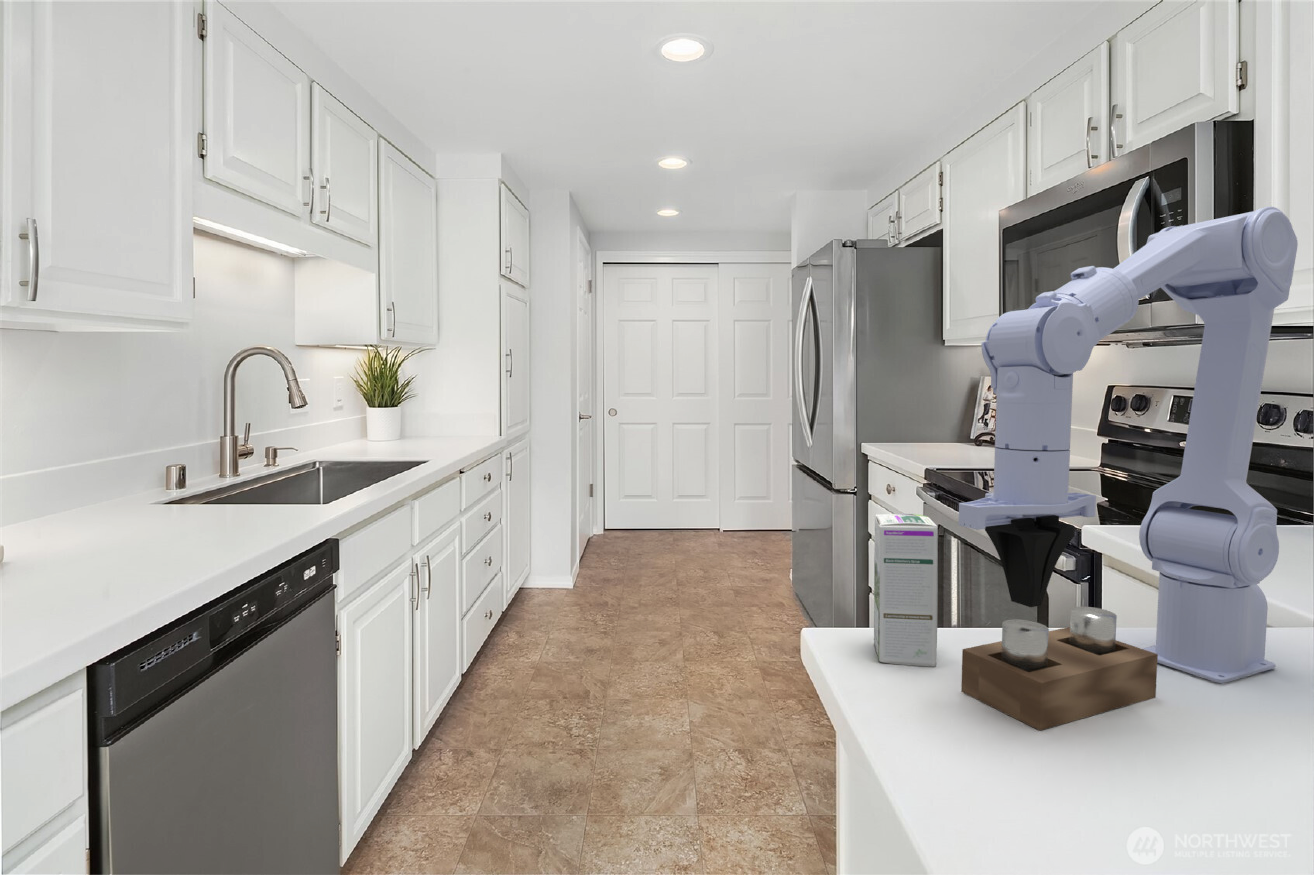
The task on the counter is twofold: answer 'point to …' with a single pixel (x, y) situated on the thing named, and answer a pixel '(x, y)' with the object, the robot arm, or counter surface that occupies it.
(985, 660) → the walnut block
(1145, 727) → the counter surface
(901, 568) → the syrup box
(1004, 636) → the outer pin
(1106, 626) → the silver short cylinder
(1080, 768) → the counter surface
